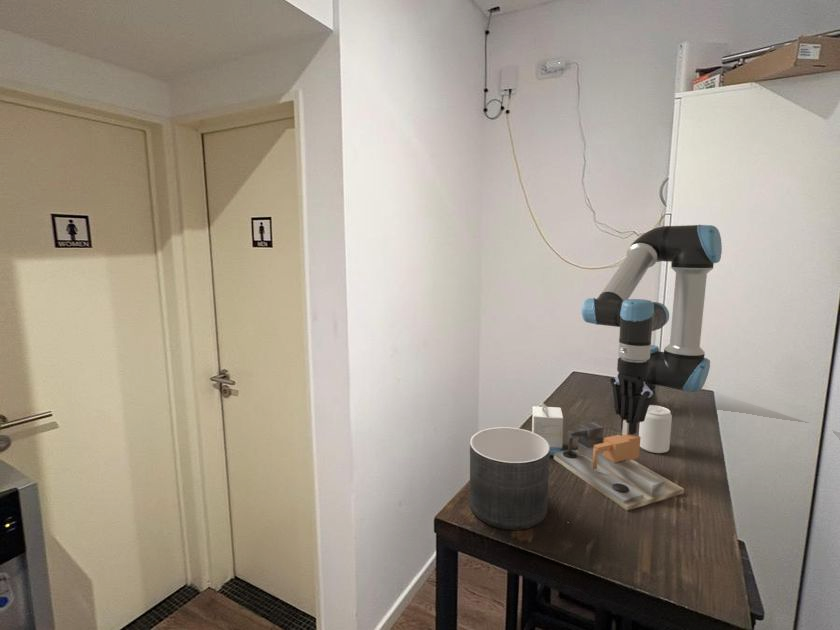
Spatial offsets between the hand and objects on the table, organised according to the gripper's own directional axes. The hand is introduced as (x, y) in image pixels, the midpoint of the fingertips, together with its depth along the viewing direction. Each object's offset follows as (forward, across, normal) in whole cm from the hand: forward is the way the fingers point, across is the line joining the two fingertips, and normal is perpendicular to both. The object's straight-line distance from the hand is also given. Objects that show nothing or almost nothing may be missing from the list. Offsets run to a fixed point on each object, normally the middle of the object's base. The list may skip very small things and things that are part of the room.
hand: (627, 442), depth 120 cm
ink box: (+7, -16, -14) cm, 23 cm away
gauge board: (+7, +3, -7) cm, 10 cm away
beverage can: (+7, -5, +15) cm, 17 cm away
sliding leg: (+4, +2, -6) cm, 7 cm away
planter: (+7, +4, -40) cm, 41 cm away
